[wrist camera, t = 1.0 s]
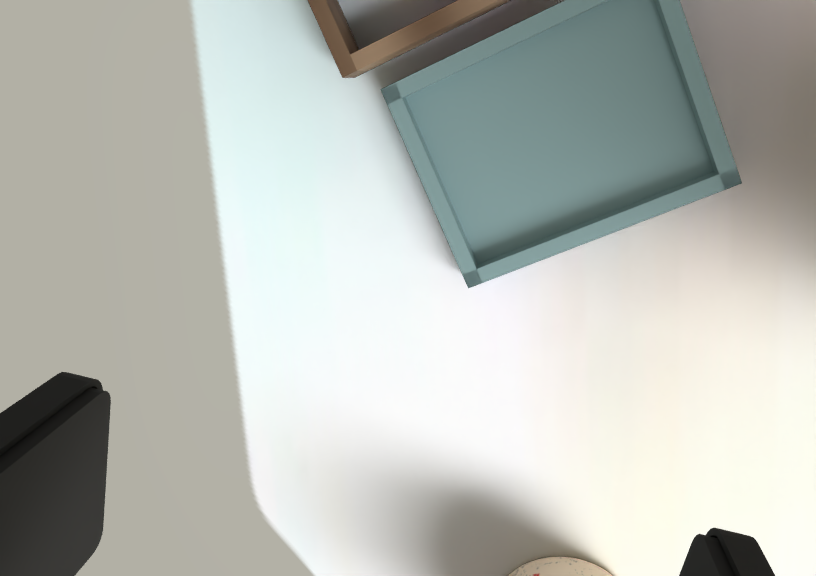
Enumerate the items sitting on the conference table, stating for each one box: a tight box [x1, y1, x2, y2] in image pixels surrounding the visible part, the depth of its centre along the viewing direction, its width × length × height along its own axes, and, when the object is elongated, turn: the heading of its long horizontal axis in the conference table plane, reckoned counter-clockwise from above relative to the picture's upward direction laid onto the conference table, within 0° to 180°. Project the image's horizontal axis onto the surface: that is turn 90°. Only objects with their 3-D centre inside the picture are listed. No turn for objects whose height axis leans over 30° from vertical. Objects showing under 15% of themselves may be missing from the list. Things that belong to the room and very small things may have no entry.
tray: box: [381, 0, 742, 288], centre depth 35 cm, size 14×11×2 cm
